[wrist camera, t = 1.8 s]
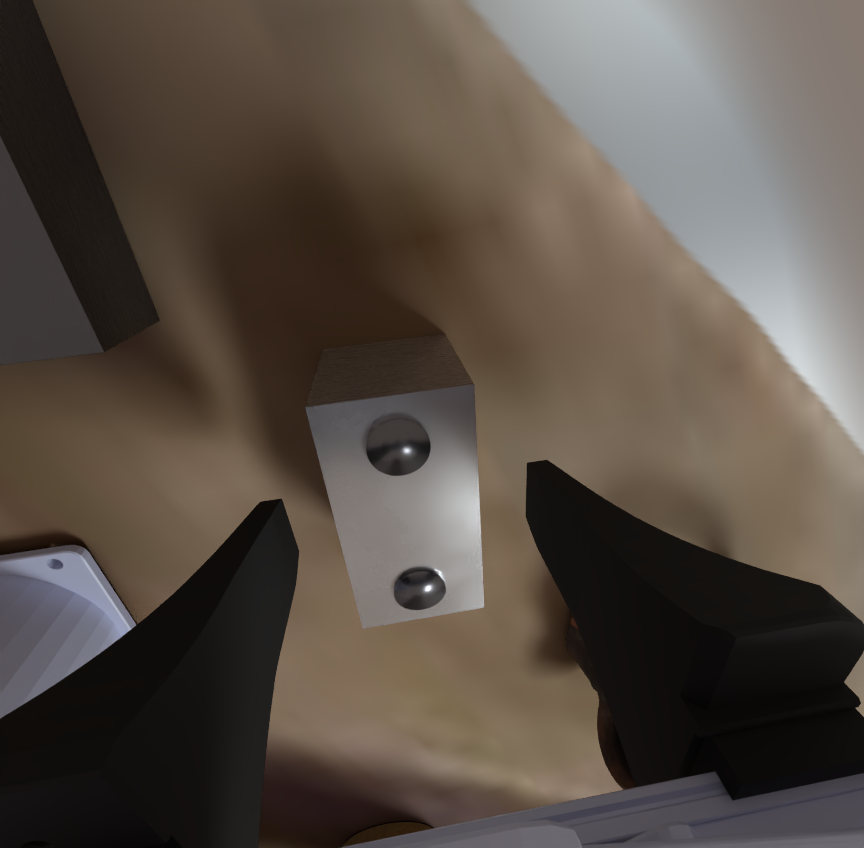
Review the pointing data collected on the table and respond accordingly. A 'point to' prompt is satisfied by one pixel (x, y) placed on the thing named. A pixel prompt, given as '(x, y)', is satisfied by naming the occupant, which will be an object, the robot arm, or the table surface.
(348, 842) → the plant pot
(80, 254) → the stand
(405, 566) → the block
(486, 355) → the table surface
